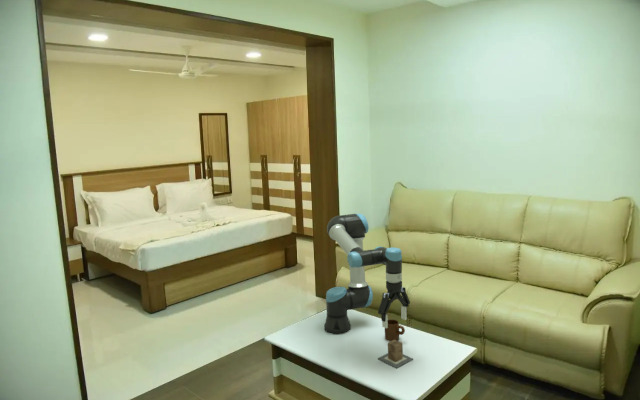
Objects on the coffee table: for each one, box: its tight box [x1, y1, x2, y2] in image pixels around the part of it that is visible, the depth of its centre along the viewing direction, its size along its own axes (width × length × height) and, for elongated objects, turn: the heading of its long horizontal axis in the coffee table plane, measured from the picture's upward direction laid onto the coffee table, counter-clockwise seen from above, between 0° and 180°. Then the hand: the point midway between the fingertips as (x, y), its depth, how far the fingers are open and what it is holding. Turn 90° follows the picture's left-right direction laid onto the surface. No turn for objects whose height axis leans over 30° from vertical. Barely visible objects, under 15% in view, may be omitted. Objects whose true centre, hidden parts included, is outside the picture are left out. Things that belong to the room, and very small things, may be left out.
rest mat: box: [377, 352, 414, 369], centre depth 215 cm, size 12×12×1 cm
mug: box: [384, 318, 406, 342], centre depth 235 cm, size 12×8×9 cm, turn 43°
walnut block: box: [387, 340, 404, 362], centre depth 214 cm, size 5×5×8 cm
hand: (394, 323), depth 213 cm, fingers open, 13 cm apart
